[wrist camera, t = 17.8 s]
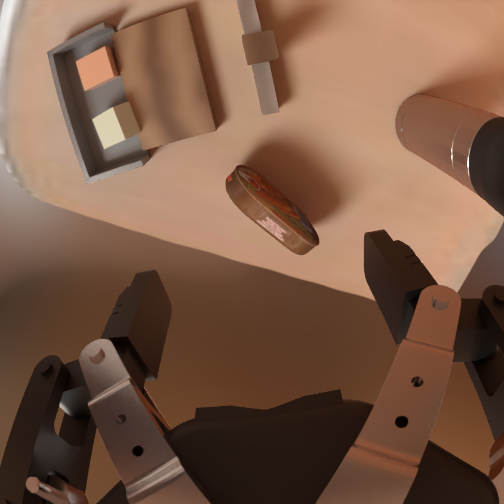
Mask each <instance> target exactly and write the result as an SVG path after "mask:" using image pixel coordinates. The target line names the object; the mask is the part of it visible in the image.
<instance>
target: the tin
mask: <svg viewBox="0 0 504 504" xmlns="http://www.w3.org/2000/svg"><path fill="white" fill-rule="evenodd" d="M226 191H227V193H228V195H229V197H230V198H231V200H232V201H233V202H234V204H235V205H236V206H237V207H238V208H239V209H240V210H241V211H242V212H243V213H244V214H245V215H246V216H247V217H249V218H250V219H251V220H252V221H254V222H255V223H256V224H257V225H259V226H260V227H261V228H262V229H264V230H265V231H266V232H267V233H269V234H270V235H271V236H272V237H274V238H275V239H276V240H277V241H279V242H280V243H281V244H283V245H284V246H285V247H286V248H288V249H289V250H290V251H292V252H294V253H296V254H298V255H304V254H306V253H308V252H309V251H310V250H311V249H313V248H314V247H315V246H317V245H319V237H318V235H317V233H316V231H315V229H314V228H313V226H312V224H311V223H310V221H309V220H308V219H307V217H306V216H305V215H304V214H303V213H302V212H301V211H300V210H299V209H298V208H297V207H296V206H295V205H294V204H293V203H291V202H290V201H289V200H288V199H287V198H286V197H285V196H283V195H282V194H281V193H280V192H279V191H278V190H277V189H275V188H274V187H273V186H272V185H271V184H270V183H269V182H267V181H266V180H265V179H264V178H263V177H261V176H260V175H259V174H258V173H256V172H255V171H253V170H252V169H250V168H248V167H246V166H243V165H238V166H236V168H235V170H234V171H233V172H232V173H231V174H230V175H229V176H228V177H227V179H226Z"/></svg>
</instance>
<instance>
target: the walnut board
mask: <svg viewBox="0 0 504 504" xmlns="http://www.w3.org/2000/svg"><path fill="white" fill-rule="evenodd" d="M111 38H112V43H113V47H114V51H115V55H116V59H117V63H118V67H119V71H120V75H121V78H122V82H123V86H124V90H125V93H126V97H127V100H128V101H129V103H130V106H131V108H132V111H133V113H134V116H135V119H136V121H137V124H138V126H139V129H140V131H141V132H140V133H138V138H139V141H140V144H141V147H142V151H144V150H148V149H151V148H154V147H158V146H161V145H164V144H168V143H171V142H175V141H179V140H182V139H186V138H190V137H194V136H198V135H202V134H206V133H210V132H214V131H216V130H217V125H216V121H215V117H214V113H213V109H212V105H211V101H210V97H209V93H208V89H207V84H206V80H205V76H204V72H203V68H202V64H201V60H200V56H199V52H198V48H197V44H196V40H195V36H194V32H193V28H192V24H191V19H190V15H189V11H188V10H187V9H186V8H183V9H179V10H176V11H172V12H169V13H166V14H163V15H160V16H157V17H154V18H151V19H148V20H145V21H143V22H140V23H137V24H135V25H132V26H130V27H127V28H125V29H122V30H120V31H117V32H115V33H113V34H111Z"/></svg>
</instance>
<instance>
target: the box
mask: <svg viewBox="0 0 504 504" xmlns="http://www.w3.org/2000/svg"><path fill="white" fill-rule="evenodd" d="M113 33H115V28H114V25H111V24H108V23H104V22H103V23H101V24H99V25H97V26H95V27H92V28H90V29H88V30H86V31H84V32H82V33H80V34H78V35H77V36H75V37H73V38H71V39H69V40H67V41H65V42H64V43H62V44H60V45H58V46H57V47H55V48H53V49H51V50H50V51H48V52H47V54H48V58H49V63H50V67H51V71H52V75H53V79H54V83H55V87H56V91H57V95H58V98H59V102H60V105H61V109H62V112H63V116H64V119H65V122H66V126H67V129H68V132H69V135H70V138H71V141H72V144H73V147H74V150H75V153H76V156H77V159H78V162H79V164H80V167H81V170H82V173H83V175H84V178H85V181H86V183H87V184H90V183H92V182H95V181H98V180H101V179H104V178H107V177H110V176H113V175H116V174H119V173H122V172H125V171H129V170H132V169H135V168H138V167H142V166H144V165H145V164H146V163H147V162H148V161H149V160H150V156H149V153H148V150H144V151H142V147H141V144H140V141H139V138H138V134H136V135H134V136H132V137H130V138H128V139H126V140H123V141H121V142H119V143H117V144H114V145H112V146H110V147H108V148H106V149H104V148H103V145H102V143H101V140H100V138H99V135H98V133H97V130H96V128H95V125H94V123H93V120H92V119H93V118H95V117H97V116H98V115H100V114H102V113H103V112H105V111H107V110H108V109H110V108H112V107H114V106H117V105H120V104H122V103H125V102H128V100H127V97H126V93H125V90H124V86H123V82H122V78H121V77H119V78H117V79H115V80H113V81H111V82H108V83H106V84H104V85H102V86H100V87H98V88H96V89H93V90H88V91H84V88H83V84H82V81H81V78H80V75H79V71H78V68H77V65H76V61H78V60H80V59H81V58H83V57H85V56H87V55H89V54H91V53H93V52H94V51H96V50H98V49H100V48H102V47H104V46H107V47H113V43H112V38H111V34H113Z"/></svg>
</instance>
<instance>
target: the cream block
mask: <svg viewBox="0 0 504 504" xmlns="http://www.w3.org/2000/svg"><path fill="white" fill-rule="evenodd" d="M92 120H93V123H94V125H95V128H96V130H97V133H98V135H99V138H100V140H101V143H102V145H103V148H104V149H106V148H108V147H110V146H112V145H114V144H117V143H119V142H121V141H123V140H126V139H128V138H130V137H132V136H134V135H136V134H138V133H140V132H141V131H140V129H139V126H138V124H137V121H136V119H135V116H134V113H133V111H132V108H131V106H130V103H129V101H128V102H125V103H122V104H120V105H117V106H114V107H112V108H110V109H108V110H107V111H105V112H103V113H102V114H100V115H98V116H97V117H95V118H93V119H92Z"/></svg>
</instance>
